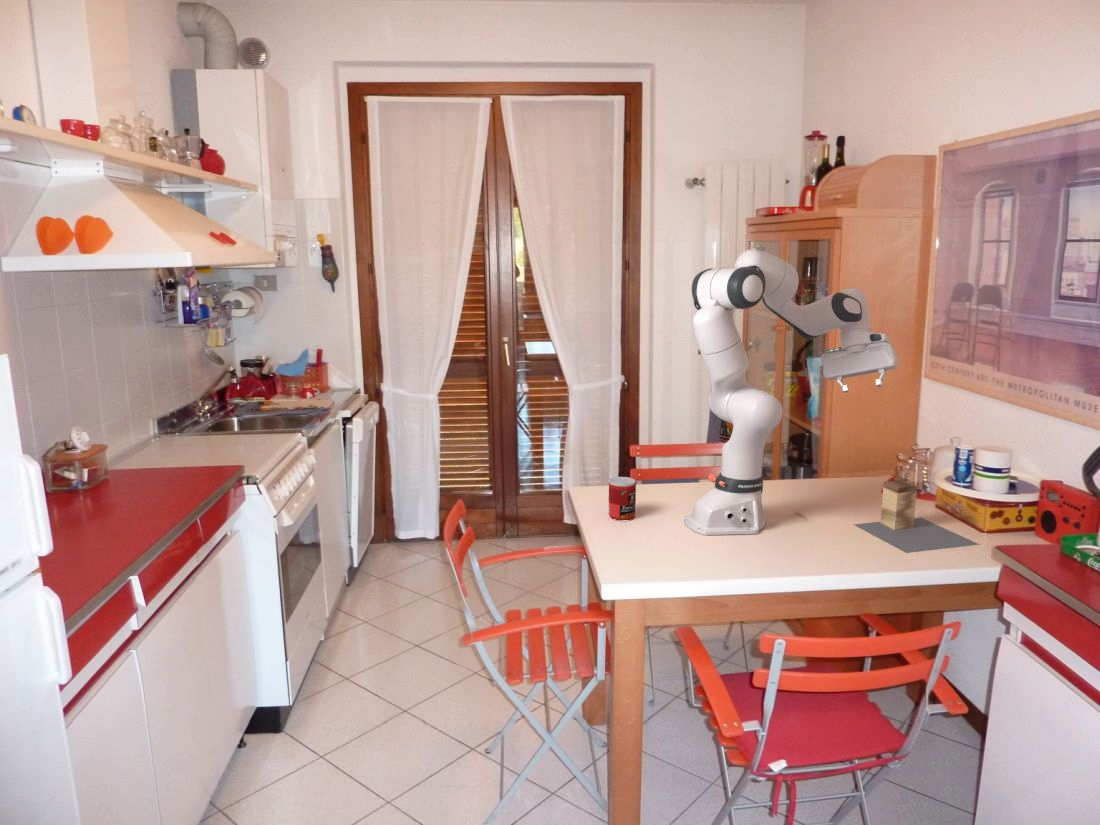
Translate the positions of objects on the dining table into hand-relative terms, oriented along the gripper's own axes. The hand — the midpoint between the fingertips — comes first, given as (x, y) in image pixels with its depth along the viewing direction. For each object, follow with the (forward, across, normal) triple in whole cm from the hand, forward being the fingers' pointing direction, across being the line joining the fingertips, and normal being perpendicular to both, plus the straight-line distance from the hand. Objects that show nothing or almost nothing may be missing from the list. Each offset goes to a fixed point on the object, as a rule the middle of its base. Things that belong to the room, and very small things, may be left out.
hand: (862, 389), depth 228 cm
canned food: (+34, -64, -28) cm, 78 cm away
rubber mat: (+42, +8, +3) cm, 43 cm away
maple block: (+38, +3, +7) cm, 39 cm away
